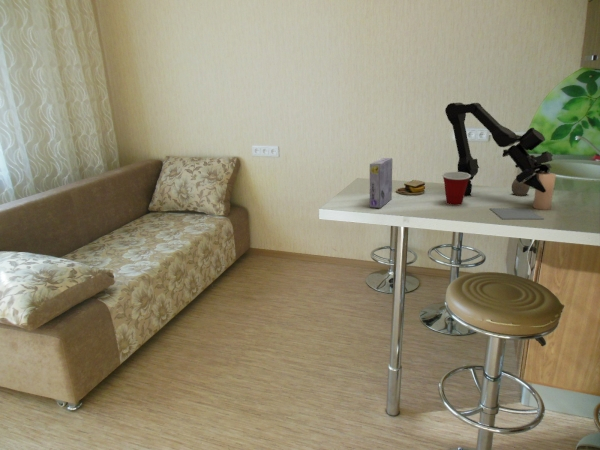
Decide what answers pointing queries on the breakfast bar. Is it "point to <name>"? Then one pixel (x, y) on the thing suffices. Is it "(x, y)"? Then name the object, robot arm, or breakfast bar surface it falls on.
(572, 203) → the breakfast bar surface
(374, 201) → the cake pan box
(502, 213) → the pad
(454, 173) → the plastic cup
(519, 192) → the vase
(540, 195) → the terracotta canister
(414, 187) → the toy sandwich meal
